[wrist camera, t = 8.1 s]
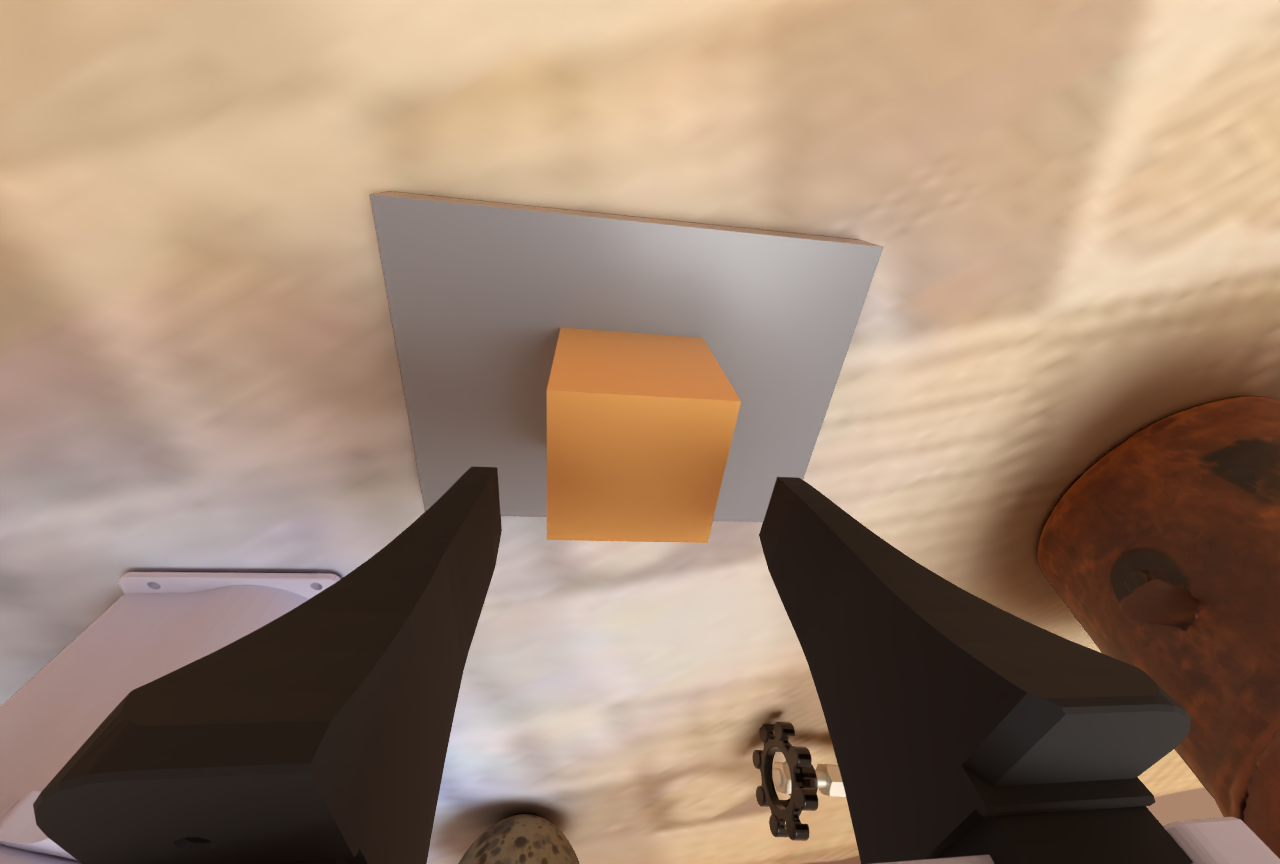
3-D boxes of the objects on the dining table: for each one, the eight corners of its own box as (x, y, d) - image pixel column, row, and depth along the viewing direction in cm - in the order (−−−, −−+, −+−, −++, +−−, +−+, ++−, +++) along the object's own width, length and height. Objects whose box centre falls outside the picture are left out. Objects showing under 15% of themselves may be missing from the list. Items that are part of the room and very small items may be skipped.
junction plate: (436, 491, 20) (393, 579, 16) (389, 191, 14) (302, 204, 10) (777, 502, 22) (819, 582, 18) (860, 240, 16) (954, 267, 12)
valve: (922, 712, 34) (779, 700, 32) (985, 820, 29) (818, 815, 26) (877, 756, 38) (743, 748, 35) (926, 862, 32) (771, 861, 29)
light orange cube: (558, 450, 18) (546, 539, 14) (560, 327, 16) (546, 390, 11) (682, 455, 19) (707, 542, 14) (703, 337, 16) (741, 401, 12)
